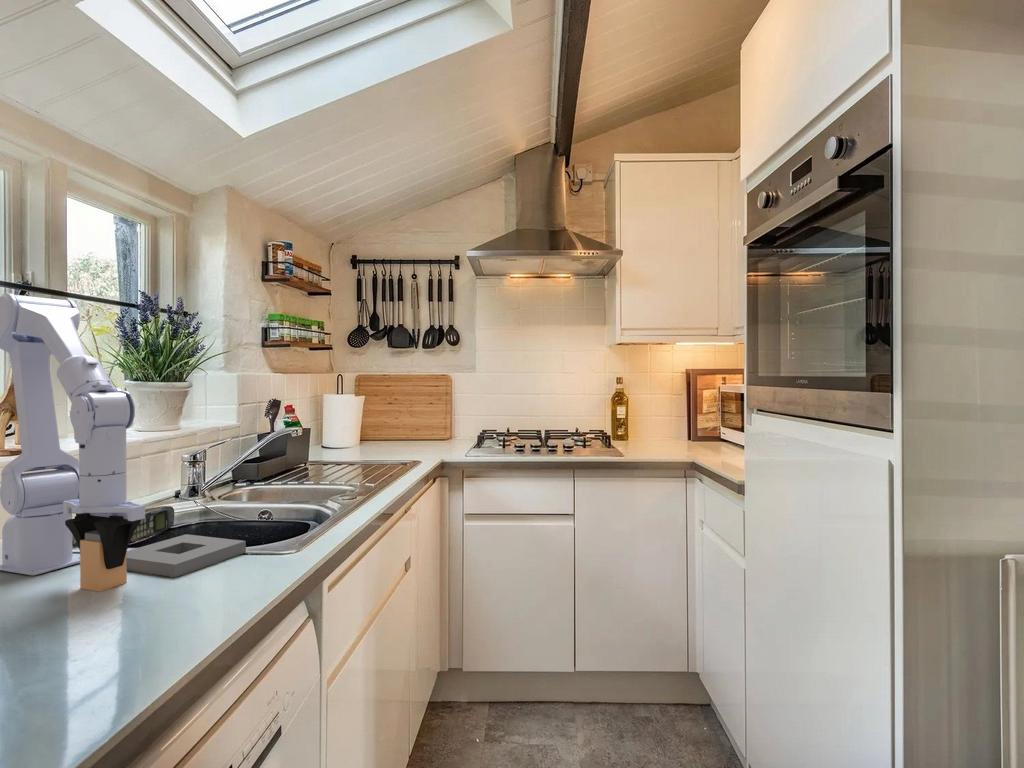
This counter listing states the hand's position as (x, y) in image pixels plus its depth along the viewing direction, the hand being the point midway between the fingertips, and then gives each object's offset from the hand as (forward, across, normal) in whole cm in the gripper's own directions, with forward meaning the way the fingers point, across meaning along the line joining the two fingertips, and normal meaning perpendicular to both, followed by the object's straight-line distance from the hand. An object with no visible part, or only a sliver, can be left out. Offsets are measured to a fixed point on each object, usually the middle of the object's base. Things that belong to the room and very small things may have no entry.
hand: (103, 565), depth 85 cm
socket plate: (+3, 0, +13) cm, 13 cm away
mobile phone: (+3, -21, +23) cm, 31 cm away
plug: (+3, 0, 0) cm, 3 cm away
